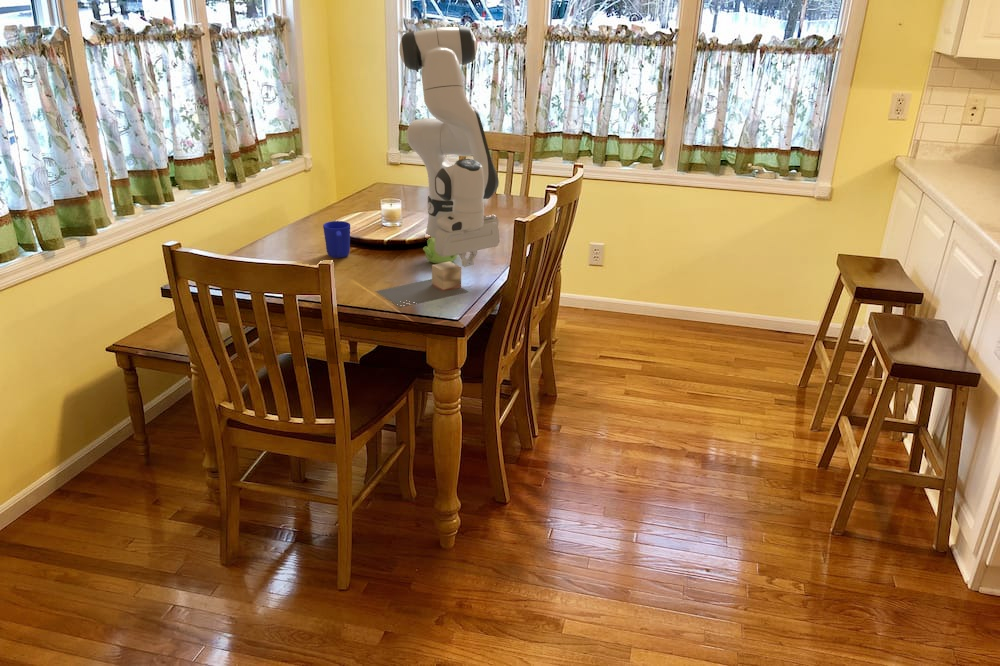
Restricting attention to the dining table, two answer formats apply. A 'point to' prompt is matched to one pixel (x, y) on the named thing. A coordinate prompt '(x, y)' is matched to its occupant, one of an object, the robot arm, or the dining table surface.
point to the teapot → (433, 256)
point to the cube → (446, 276)
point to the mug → (337, 238)
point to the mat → (417, 293)
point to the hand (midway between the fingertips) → (467, 265)
